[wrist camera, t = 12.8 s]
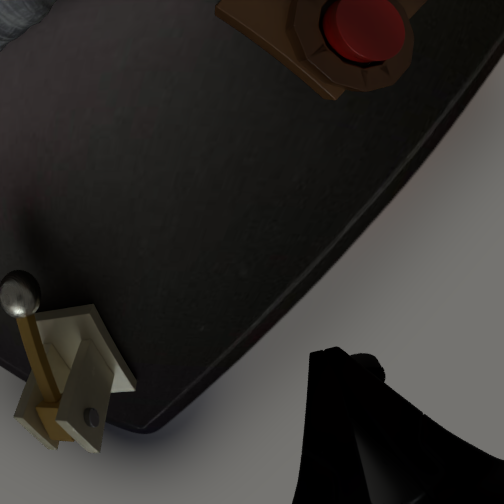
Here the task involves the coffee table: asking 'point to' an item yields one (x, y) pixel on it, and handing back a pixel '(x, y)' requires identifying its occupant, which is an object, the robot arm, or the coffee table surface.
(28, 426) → the bracket
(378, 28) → the button
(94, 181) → the coffee table surface
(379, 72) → the button box
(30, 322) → the lever
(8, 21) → the seashell
